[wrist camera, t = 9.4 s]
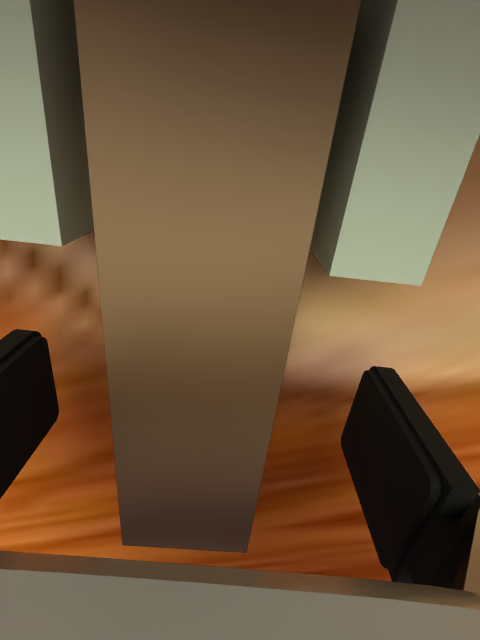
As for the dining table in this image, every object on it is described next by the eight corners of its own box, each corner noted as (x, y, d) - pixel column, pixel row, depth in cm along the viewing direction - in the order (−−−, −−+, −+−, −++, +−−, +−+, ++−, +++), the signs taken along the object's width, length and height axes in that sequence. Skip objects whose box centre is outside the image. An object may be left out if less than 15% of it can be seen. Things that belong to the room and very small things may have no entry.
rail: (155, 27, 9) (63, -112, 4) (305, 49, 9) (374, -62, 4) (157, 428, 15) (122, 545, 10) (244, 435, 15) (246, 552, 11)
